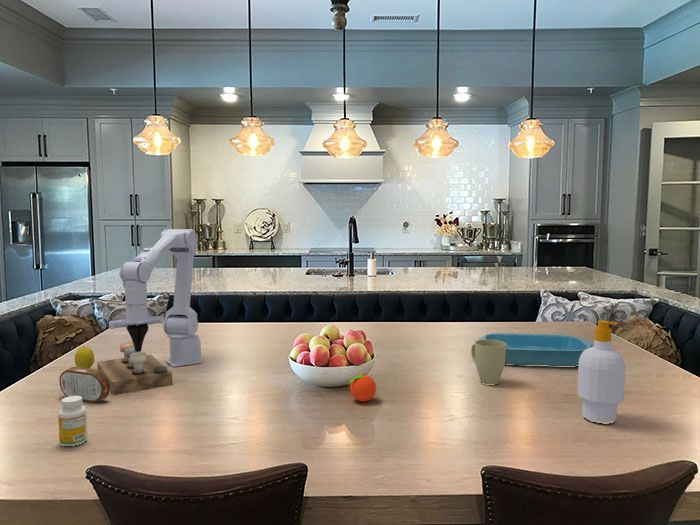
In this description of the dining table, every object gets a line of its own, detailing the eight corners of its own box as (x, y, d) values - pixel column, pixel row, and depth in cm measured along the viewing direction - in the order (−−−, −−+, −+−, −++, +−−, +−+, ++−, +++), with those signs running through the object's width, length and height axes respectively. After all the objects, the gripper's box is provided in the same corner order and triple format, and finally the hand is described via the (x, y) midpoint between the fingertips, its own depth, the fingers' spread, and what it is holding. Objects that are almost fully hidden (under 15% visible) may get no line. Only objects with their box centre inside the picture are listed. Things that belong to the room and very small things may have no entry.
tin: (111, 401, 144) (110, 370, 144) (102, 405, 141) (101, 373, 141) (67, 394, 149) (66, 364, 148) (57, 398, 146) (56, 367, 145)
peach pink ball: (134, 358, 172) (133, 341, 172) (137, 361, 168) (136, 344, 168) (119, 360, 170) (118, 343, 169) (122, 363, 166) (121, 346, 165)
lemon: (87, 374, 167) (85, 348, 167) (71, 373, 169) (70, 347, 168) (98, 369, 173) (97, 344, 172) (83, 368, 174) (82, 343, 173)
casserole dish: (481, 367, 177) (482, 346, 176) (475, 350, 199) (476, 331, 198) (601, 372, 172) (602, 350, 171) (581, 354, 194) (582, 334, 193)
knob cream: (144, 368, 160) (144, 351, 160) (148, 372, 157) (148, 354, 156) (129, 371, 158) (128, 353, 157) (132, 375, 154) (131, 357, 154)
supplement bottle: (66, 437, 121) (64, 394, 120) (91, 436, 122) (89, 394, 121) (55, 447, 116) (53, 403, 115) (81, 447, 116) (79, 402, 115)
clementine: (354, 407, 140) (354, 380, 139) (341, 399, 146) (342, 373, 146) (381, 402, 144) (381, 376, 143) (368, 394, 150) (368, 369, 149)
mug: (508, 380, 163) (509, 340, 162) (502, 389, 154) (503, 348, 153) (471, 375, 168) (472, 336, 167) (463, 384, 159) (464, 344, 158)
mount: (151, 364, 178) (150, 350, 177) (172, 384, 158) (171, 368, 158) (97, 372, 169) (97, 357, 169) (112, 394, 149) (112, 377, 149)
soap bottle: (619, 431, 126) (625, 327, 123) (572, 422, 131) (576, 322, 129) (624, 417, 134) (629, 320, 132) (579, 408, 140) (584, 315, 138)
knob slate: (139, 363, 166) (138, 346, 166) (142, 366, 163) (142, 349, 162) (123, 365, 164) (123, 348, 163) (127, 369, 160) (126, 351, 160)
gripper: (111, 308, 148) (113, 357, 149) (166, 303, 156) (167, 350, 157) (106, 304, 154) (108, 351, 155) (159, 300, 162) (161, 345, 163)
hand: (138, 350), depth 157 cm, fingers closed
